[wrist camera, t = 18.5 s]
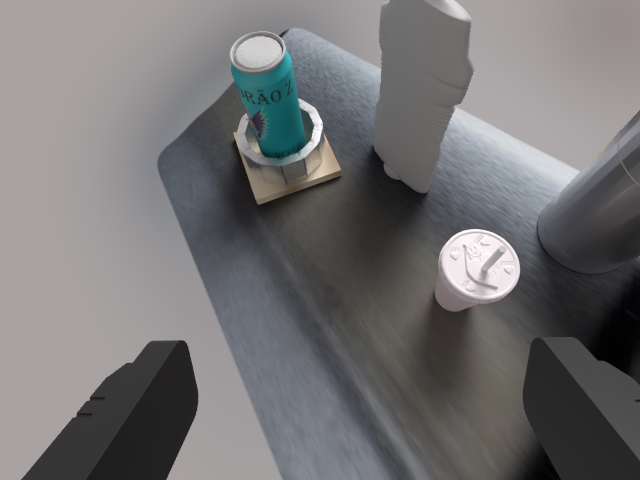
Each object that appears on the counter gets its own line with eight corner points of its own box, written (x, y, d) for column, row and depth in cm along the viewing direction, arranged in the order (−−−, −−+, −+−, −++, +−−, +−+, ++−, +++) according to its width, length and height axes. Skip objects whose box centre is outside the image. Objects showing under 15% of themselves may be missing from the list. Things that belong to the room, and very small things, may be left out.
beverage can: (254, 148, 48) (215, 48, 35) (291, 126, 49) (267, 19, 36) (278, 179, 46) (245, 84, 33) (316, 155, 47) (300, 53, 34)
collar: (309, 110, 50) (305, 87, 47) (335, 168, 46) (334, 147, 43) (237, 134, 50) (228, 113, 46) (258, 195, 46) (250, 177, 42)
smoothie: (441, 334, 39) (485, 300, 26) (410, 280, 41) (436, 224, 28) (496, 308, 39) (565, 262, 26) (462, 256, 42) (510, 191, 29)
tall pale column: (360, 147, 49) (365, -34, 29) (385, 131, 49) (407, -57, 29) (416, 204, 45) (466, 41, 25) (442, 186, 45) (512, 12, 25)
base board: (312, 112, 52) (311, 106, 51) (341, 175, 47) (341, 169, 46) (235, 138, 51) (233, 132, 50) (258, 205, 46) (255, 200, 45)
